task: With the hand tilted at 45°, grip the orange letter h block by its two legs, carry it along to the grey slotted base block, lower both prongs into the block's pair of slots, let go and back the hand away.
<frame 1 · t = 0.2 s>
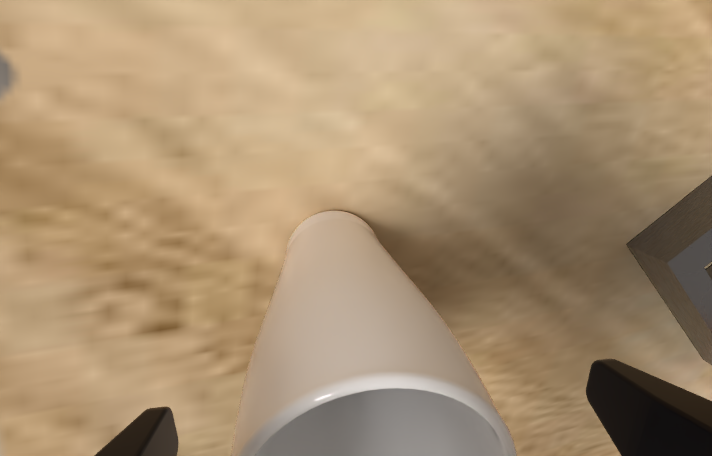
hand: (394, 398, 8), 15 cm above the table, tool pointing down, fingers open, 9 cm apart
drinking glass: (332, 250, 23), on the table
grey slotted base block: (711, 273, 27), on the table
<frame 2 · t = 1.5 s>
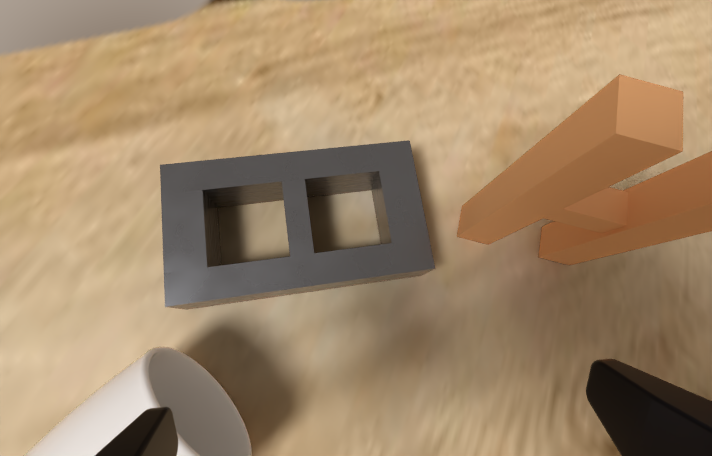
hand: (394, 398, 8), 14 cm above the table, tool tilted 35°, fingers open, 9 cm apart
grey slotted base block: (300, 230, 23), on the table
orange letter h block: (515, 235, 24), on the table
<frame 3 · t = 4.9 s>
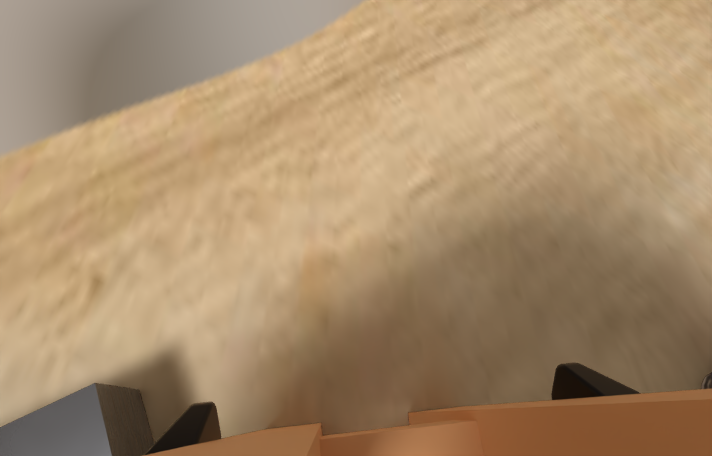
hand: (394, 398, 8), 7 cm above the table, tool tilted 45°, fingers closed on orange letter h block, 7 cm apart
orange letter h block: (368, 449, 14), on the table, touching gripper
when the fingers open (8 cm above the table, at t = 10.1 s): orange letter h block drops 1 cm, on the table.
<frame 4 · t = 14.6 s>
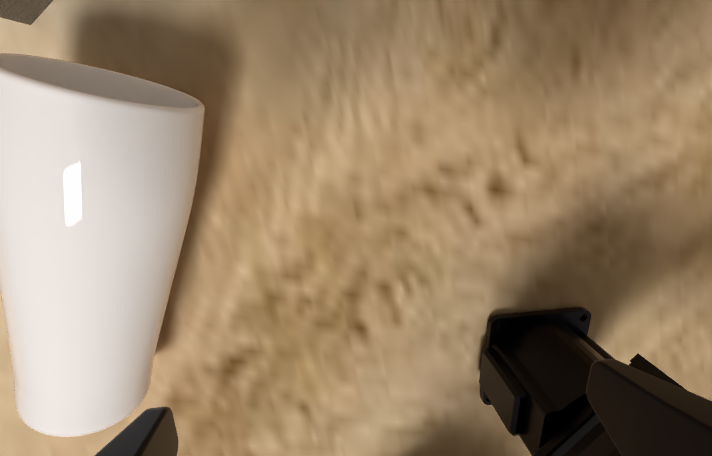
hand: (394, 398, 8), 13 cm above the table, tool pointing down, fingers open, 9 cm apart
drinking glass: (87, 398, 19), point 3 cm above the table
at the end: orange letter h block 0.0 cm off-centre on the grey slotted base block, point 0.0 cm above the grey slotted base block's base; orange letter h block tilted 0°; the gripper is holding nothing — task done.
